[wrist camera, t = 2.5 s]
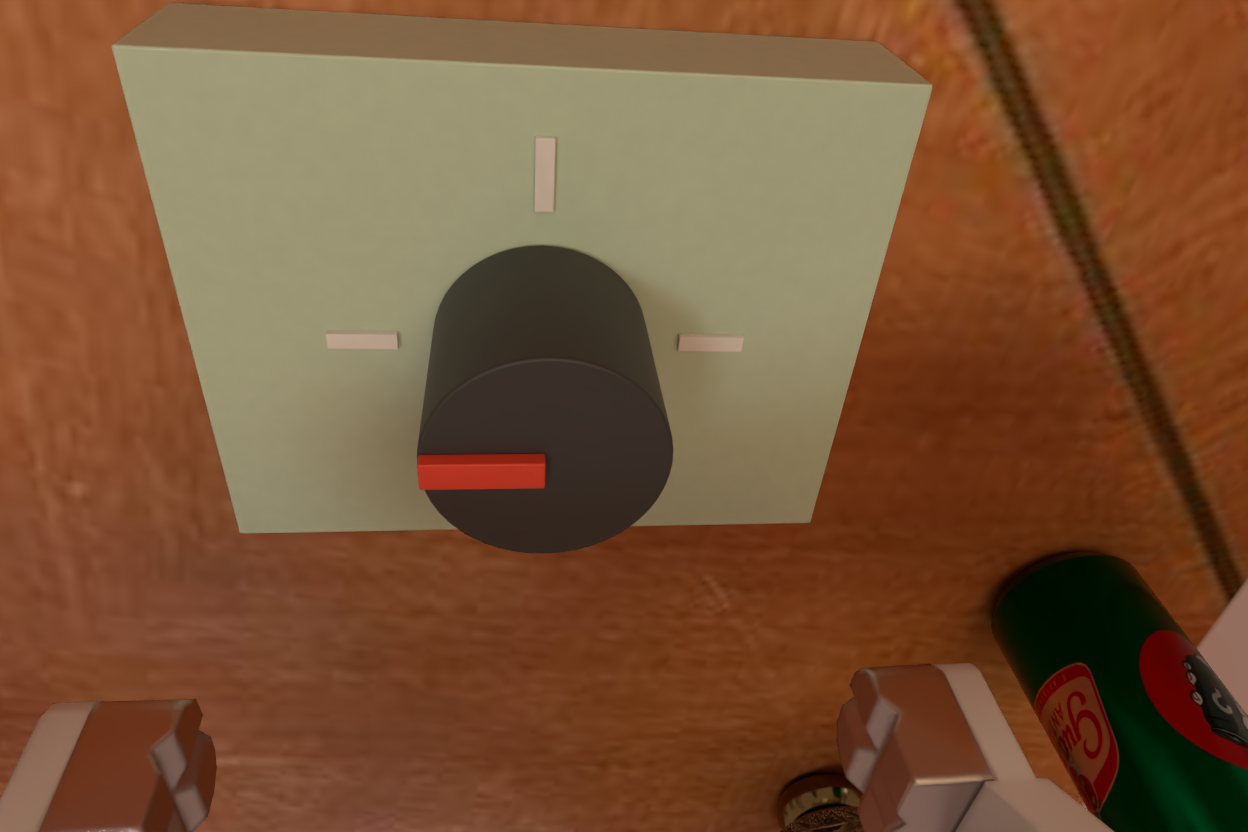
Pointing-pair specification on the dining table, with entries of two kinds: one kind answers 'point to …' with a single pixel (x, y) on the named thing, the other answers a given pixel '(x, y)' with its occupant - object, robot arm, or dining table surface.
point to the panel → (512, 232)
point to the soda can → (1125, 697)
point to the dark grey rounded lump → (820, 805)
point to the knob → (542, 404)
